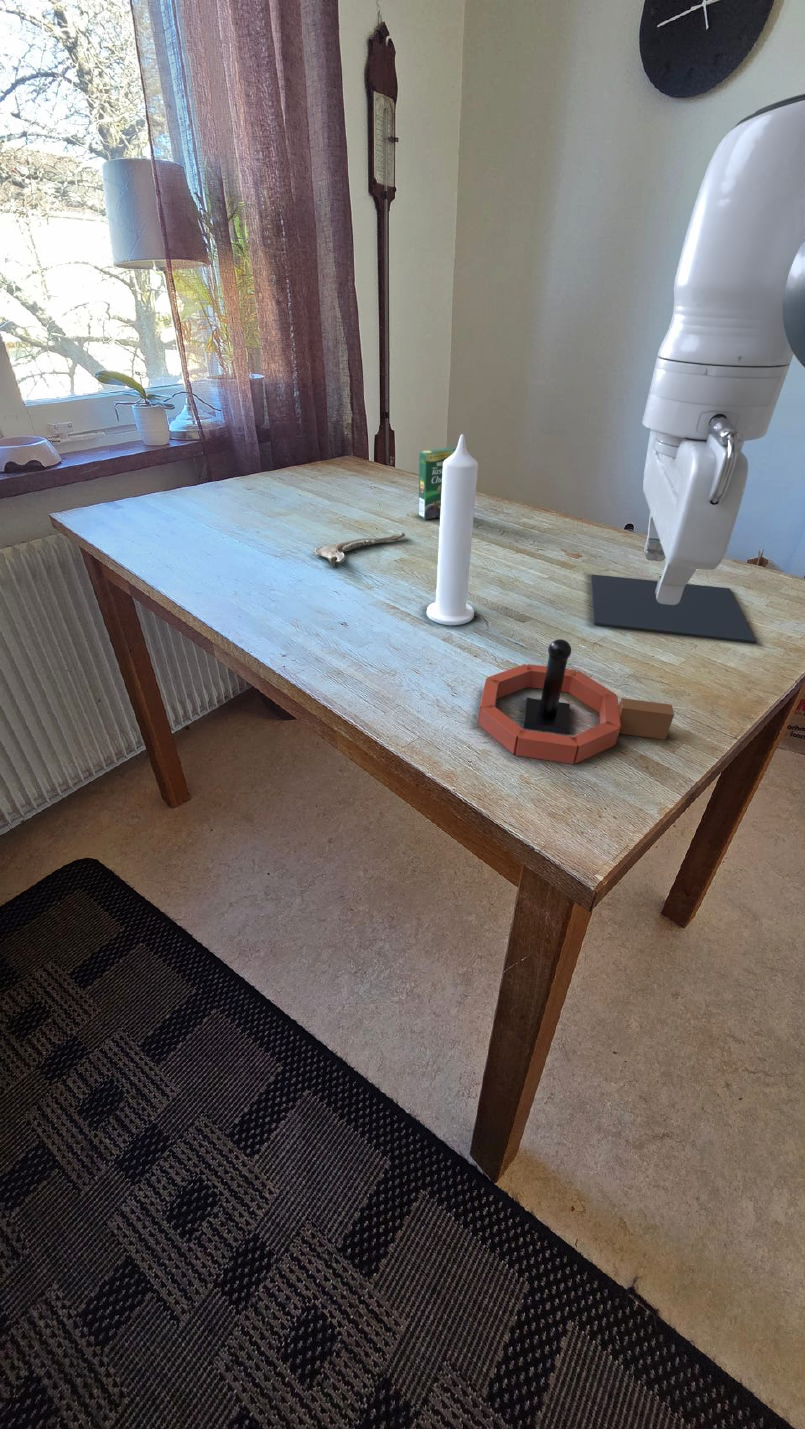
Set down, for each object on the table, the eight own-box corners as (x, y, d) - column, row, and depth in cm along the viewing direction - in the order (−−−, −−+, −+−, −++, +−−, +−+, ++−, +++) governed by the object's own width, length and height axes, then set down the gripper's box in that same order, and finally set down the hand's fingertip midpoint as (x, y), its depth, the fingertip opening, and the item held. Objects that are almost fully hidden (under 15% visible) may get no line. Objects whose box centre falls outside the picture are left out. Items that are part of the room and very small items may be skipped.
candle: (450, 599, 94) (462, 426, 79) (483, 616, 90) (502, 435, 75) (416, 612, 90) (422, 433, 76) (449, 630, 86) (462, 443, 71)
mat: (728, 590, 99) (729, 588, 98) (755, 643, 84) (756, 641, 84) (591, 576, 102) (591, 574, 102) (593, 625, 88) (594, 622, 88)
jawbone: (301, 564, 106) (299, 552, 105) (369, 532, 120) (368, 522, 119) (341, 571, 102) (340, 559, 101) (407, 538, 116) (407, 527, 115)
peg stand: (568, 708, 71) (585, 632, 65) (568, 734, 67) (586, 655, 61) (526, 702, 72) (538, 627, 66) (523, 727, 68) (536, 649, 62)
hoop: (656, 697, 73) (664, 673, 71) (673, 779, 61) (683, 753, 59) (488, 674, 77) (490, 651, 75) (472, 748, 65) (475, 723, 63)
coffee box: (423, 521, 124) (425, 453, 116) (416, 516, 126) (418, 450, 118) (456, 515, 127) (461, 449, 119) (449, 511, 129) (453, 446, 121)
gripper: (795, 436, 36) (720, 638, 44) (726, 386, 52) (680, 541, 61) (685, 430, 37) (631, 628, 46) (650, 383, 53) (615, 535, 62)
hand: (659, 578), depth 53 cm, fingers open, 8 cm apart
